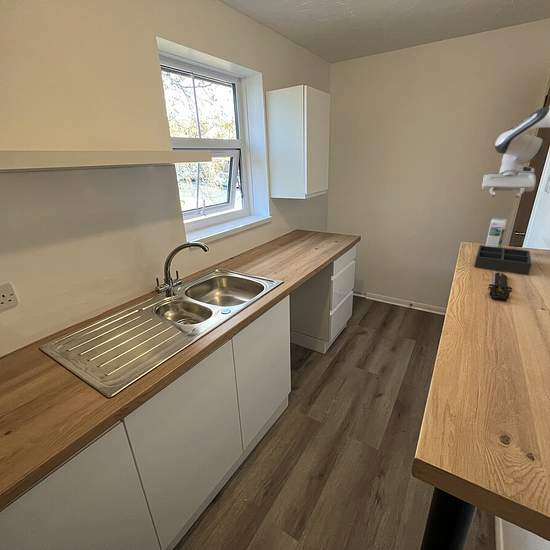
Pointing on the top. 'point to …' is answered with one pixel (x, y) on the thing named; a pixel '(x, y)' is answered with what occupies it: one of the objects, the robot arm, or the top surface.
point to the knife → (496, 285)
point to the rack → (503, 259)
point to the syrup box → (496, 232)
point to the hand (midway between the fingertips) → (504, 197)
